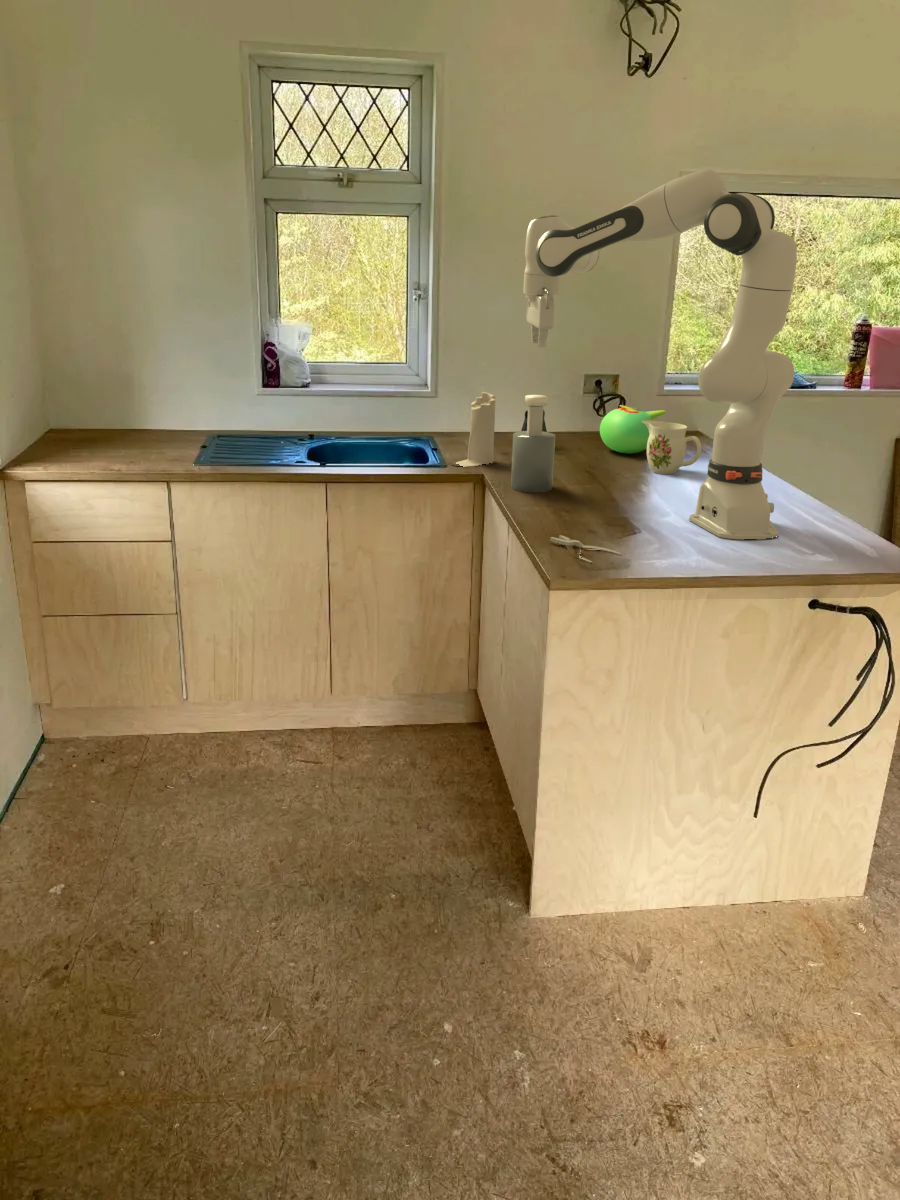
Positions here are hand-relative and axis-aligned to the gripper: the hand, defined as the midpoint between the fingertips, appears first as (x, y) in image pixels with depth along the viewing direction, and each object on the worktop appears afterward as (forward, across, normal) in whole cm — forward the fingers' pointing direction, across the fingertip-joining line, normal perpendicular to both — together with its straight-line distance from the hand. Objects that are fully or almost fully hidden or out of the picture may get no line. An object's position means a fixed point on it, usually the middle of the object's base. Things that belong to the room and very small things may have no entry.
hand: (538, 345), depth 233 cm
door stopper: (+37, +50, -8) cm, 63 cm away
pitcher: (+37, +17, -42) cm, 58 cm away
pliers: (+37, -53, -2) cm, 65 cm away
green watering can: (+37, +43, -37) cm, 68 cm away
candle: (+37, +28, +13) cm, 48 cm away
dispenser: (+37, 0, 0) cm, 37 cm away
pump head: (+22, 0, 0) cm, 22 cm away
